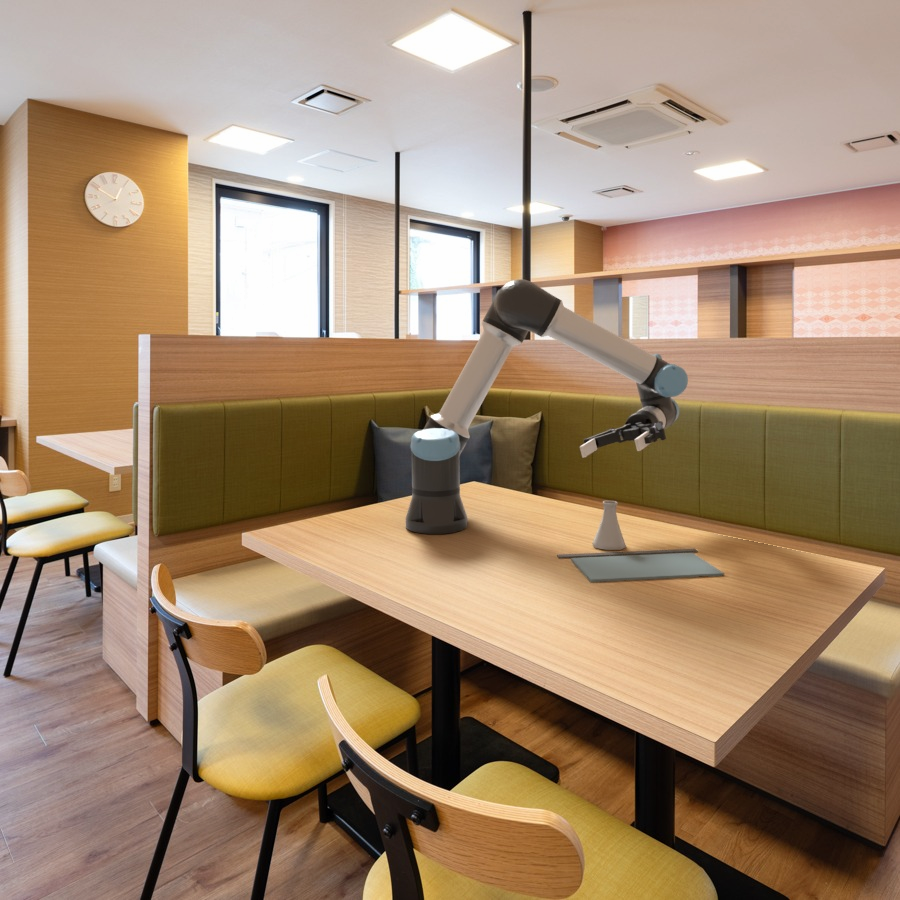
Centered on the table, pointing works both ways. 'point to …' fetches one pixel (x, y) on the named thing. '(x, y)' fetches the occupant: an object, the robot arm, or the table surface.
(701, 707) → the table surface
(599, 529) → the flask
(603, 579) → the mat
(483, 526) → the table surface
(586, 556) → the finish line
